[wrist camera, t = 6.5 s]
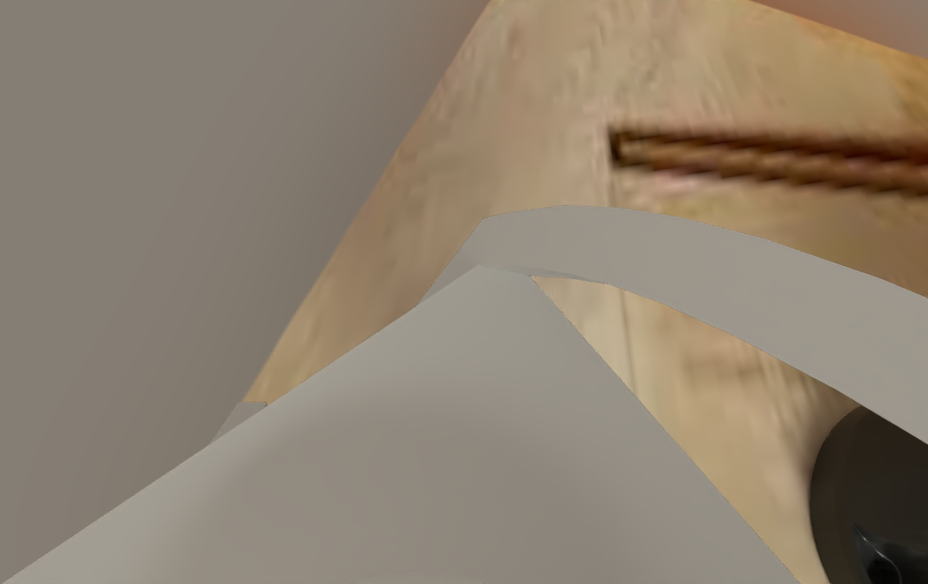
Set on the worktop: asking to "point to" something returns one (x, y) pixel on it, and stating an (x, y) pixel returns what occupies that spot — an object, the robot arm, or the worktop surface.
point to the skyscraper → (510, 427)
